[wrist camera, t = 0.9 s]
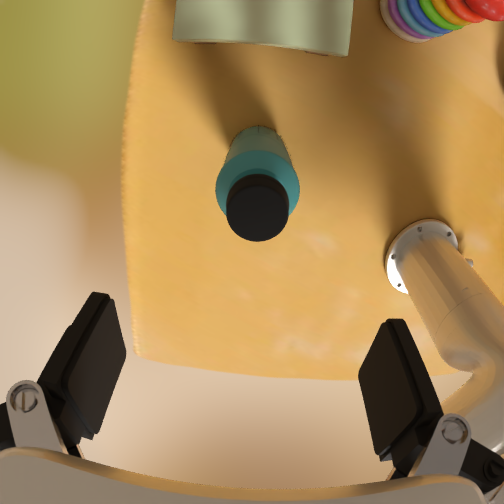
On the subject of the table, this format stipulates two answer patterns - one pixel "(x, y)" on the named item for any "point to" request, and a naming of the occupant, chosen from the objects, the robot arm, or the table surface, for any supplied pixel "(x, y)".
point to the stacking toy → (436, 16)
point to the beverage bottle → (257, 184)
